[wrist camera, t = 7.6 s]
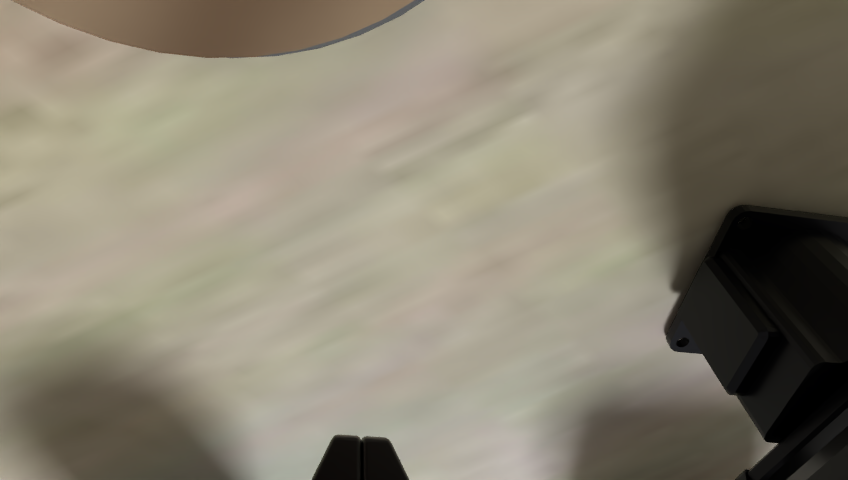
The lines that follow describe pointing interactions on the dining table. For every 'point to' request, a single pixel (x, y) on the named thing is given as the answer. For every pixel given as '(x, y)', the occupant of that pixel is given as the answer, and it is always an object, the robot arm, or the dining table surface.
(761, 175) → the dining table surface
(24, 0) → the lazy susan
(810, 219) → the robot arm
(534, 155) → the dining table surface
